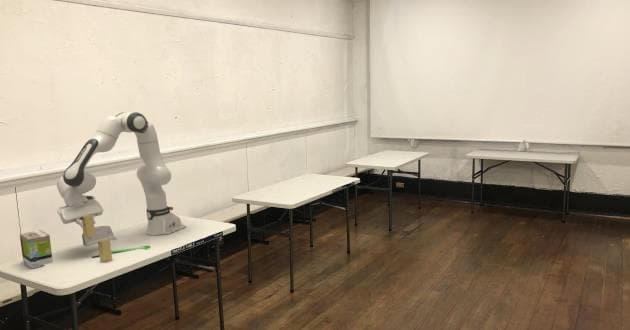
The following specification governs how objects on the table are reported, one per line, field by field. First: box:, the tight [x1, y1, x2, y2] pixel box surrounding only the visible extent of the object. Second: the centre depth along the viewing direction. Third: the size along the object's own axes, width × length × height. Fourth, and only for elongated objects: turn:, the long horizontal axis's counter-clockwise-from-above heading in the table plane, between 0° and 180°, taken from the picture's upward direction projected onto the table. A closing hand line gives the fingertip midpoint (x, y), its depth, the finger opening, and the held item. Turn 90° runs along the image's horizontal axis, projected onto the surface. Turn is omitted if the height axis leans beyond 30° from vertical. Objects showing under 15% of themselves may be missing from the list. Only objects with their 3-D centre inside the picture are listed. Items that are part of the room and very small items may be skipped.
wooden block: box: [80, 215, 95, 237], centre depth 252 cm, size 4×4×10 cm
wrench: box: [97, 245, 151, 256], centre depth 259 cm, size 25×2×5 cm
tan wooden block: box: [97, 239, 113, 263], centre depth 245 cm, size 4×4×10 cm
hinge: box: [81, 225, 117, 247], centre depth 279 cm, size 17×5×10 cm, turn 140°
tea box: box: [19, 229, 54, 269], centre depth 249 cm, size 15×10×15 cm
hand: (88, 225), depth 252 cm, fingers closed on wooden block, 4 cm apart
